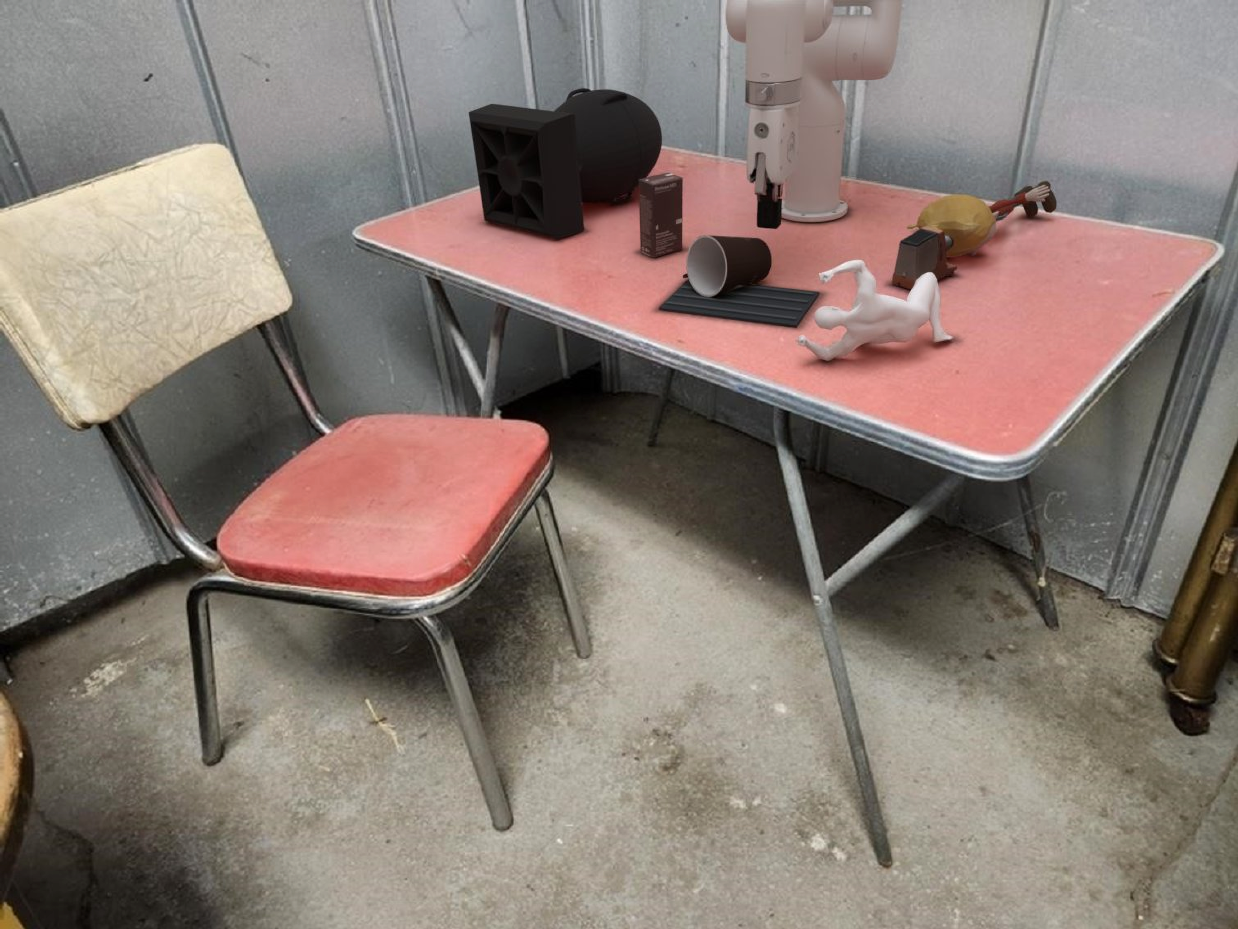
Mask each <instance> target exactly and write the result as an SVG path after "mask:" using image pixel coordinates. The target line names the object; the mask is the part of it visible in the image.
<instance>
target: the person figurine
mask: <svg viewBox="0 0 1238 929" xmlns="http://www.w3.org/2000/svg"><path fill="white" fill-rule="evenodd" d="M848 273H854V280H855V282H856V285H857V290H856V293H855V296H856V297H855V299H854V301H853V302H852V304H851V310H843V309H842V307H841V306H833V305H824V306H820V307H819V308H817V309H816V310H815V311H814V316H813V317H814V322H815V324H816V325H817V326H818V328H819V329H823V330H828V331H832V330H834V329H835V328H838V327H844V328H845V329H846V331H845V332H844V334H843V335H842V337H841V340H837V341H835V342H833V343H832V344H831V345H830V346H824V345H820V344H818V343H816V342H813V341H810V340H809V339H808V338H807V336H805V335H804V334H801V335H799V337H797V340H796V342H797V345H798V346H801V347H804V348H806V349H807V350H808V351H810V352H812V354H814V355H815V356H816V357H817V358H818V359H820V360H823V361H826V362H830V361H831V360H833V359H834V358H837V357H846V356H848V355H850V354H852V353H853V352H854V351H855V350H856V349H857V348H859V347H860V346H862V345H864V344H877V345H882V344H890V343H907V342H909V341H911V340H914V338H915V336H916V335H917V333H918V331H919V329H920V328H921V327H923V326H924V325H926V324H927V322H929V324H930V326H931V330H932V333H933V334H932V341H933V342H934V343H939V342H944V341H951V340H954V336H952V335H949V334H948V333H946V332H945V330H944V329H943V328H942V323H941V317H940V314H941V300H942V299H941V298H942V297H941V296H942V295H941V290H940V287H939V283H938V280H937V278H936V277H935V275H934V274H933V273H932V272H927V273H925V274H923V275H922V276H920V277H919V278H918V279H917V280H916V282H915V284H914V287H913V288H912V290H910V291H909V292H908V295H907V297H906V299H902V298H898V297H896V296H892V295H887V294H881V293H880V294H879V293H877V280H876V277H875V276H874V275H873V273H871V271H870V270H869V269H868V268H867V266H866V263H865V262H864V261H863V260H862V259H853V260H848V261H846V262H842V264H840V265H837V266H836V267H834V268H832V269H829V270H826V271H823V272H819V273H818V278H819V282H821V283H822V284H826V283H829V281H832V279H833V277H834V276H836V275H841V274H842V275H843V274H848Z"/></svg>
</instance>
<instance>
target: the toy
mask: <svg viewBox="0 0 1238 929" xmlns="http://www.w3.org/2000/svg"><path fill="white" fill-rule="evenodd" d="M1051 186H1052V184H1051V183H1050V182H1049V181H1048V180H1042V181H1041V182H1039V183H1038V184H1037V185H1036V186H1034V187H1033V185H1026V186H1024V187H1022V188H1021V189H1019V190H1018V191H1017V192H1016V193H1014V194H1013V197H1012V198H1011V199H1000V200H998V201H997V200H996V201H995V202H994V203H993V204H991V205H988V204H986V202H985V201H984V200H982V199H981V198H978V197H976V196H973V195H970V194H961V193H959V194H950V195H944V196H943V197H941V198H939V199H937V200H934V201H933V202H931V203H929V204H928V205H926V206H925V207H924V208H923V209H922V210H921V212H920V213H919V216H918V217H917V221H916V224H910V225H907V226H906V229H907V230H912V229H915V228H918V230H920V229H921V228H923V227H925V226H928V227H932V228H936V229H939V230H943V231H944V233H945V235H949V236H950V237H952V239H953V240H954V244H953V246H952V247H951V248H950V249H949V250H948V251H946V258H954V257H956V258H957V257H961V256H964V255H967V254H970V255H971V256H976V255H977V253H978V252H979V250H980V249H981V248H982V247H984V246H985V245H986V244H987V243H988V242H989V241H990V240H992V239H993V237H994V236H995V234H996V233H997V222H999V221H1002V220H1004V219H1006V218H1007V217H1008V216H1009V215H1010V214H1011V213H1012V212H1014V210H1015V208H1017V207H1019V206H1021V205H1022V207H1023V210H1024V213H1025V215H1026V216H1027V218H1031V219H1033V218H1035V217H1036V216H1037V215H1038V213H1039V207H1038V203H1041V206H1042V208H1043V210H1044V212H1045V213H1049V214H1052V213H1054V212H1055V211H1056V209H1057V204H1058V202H1057V198H1056V196H1055V193H1054V192H1053V191H1052V189H1051V188H1052V187H1051Z"/></svg>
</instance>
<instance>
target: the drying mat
mask: <svg viewBox="0 0 1238 929" xmlns="http://www.w3.org/2000/svg"><path fill="white" fill-rule="evenodd" d="M819 296H820V291H815V290H807V289H798V288H797V289H796V288H788V287H780V286H770V285H761V284H754V283H753V284H749V285H746V286H743V287H740V288H737V289H734V290H731V291H727V292H724V293H721V294H718V295H715V296H711V297H705V296H702V295H700V294H699V293H697V292H696V290H695V289H694V288H693V287H692V285H691V283H690V281H689V278H687V279H686V280H685V281H684V282H683V283H682V284H681V285H680V286H678V288H677V289H676V290H675V291H674V292H673V293H672V294H671V295H670V296H669V297H668V298H667V299H665V301H664V302H663V303H661V304H660V306H658V311H665V312H671V313H672V312H673V313H680V314H687V315H695V316H701V317H702V316H704V317H710V318H711V317H712V318H720V319H727V320H734V321H743V322H751V323H756V324H757V323H758V324H765V325H774V326H780V327H781V326H782V327H789V328H797V327H798V326H799V324H800V323H801V322H802V320H803V319H804V317H805V316H806V315H807V312H809V310H810V309H811V307H812V306H813V304H814V303H815V301H816V300H817V299H818V297H819Z"/></svg>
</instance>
